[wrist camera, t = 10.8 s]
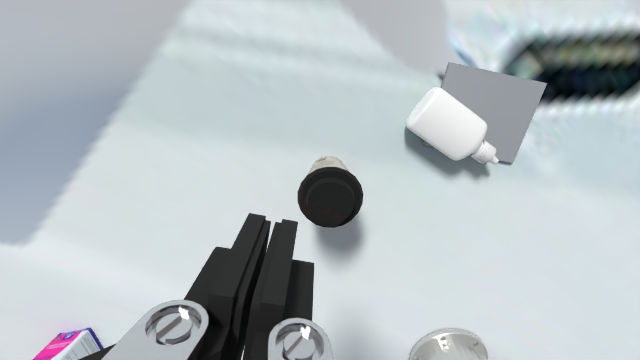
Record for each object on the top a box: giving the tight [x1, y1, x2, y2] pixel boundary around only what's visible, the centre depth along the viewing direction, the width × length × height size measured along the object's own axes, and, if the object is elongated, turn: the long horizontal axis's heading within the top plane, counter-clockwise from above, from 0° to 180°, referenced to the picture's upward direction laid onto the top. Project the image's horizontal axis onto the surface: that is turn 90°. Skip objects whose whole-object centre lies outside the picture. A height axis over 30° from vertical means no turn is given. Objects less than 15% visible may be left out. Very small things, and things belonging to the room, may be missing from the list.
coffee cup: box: [298, 156, 363, 228], centre depth 35 cm, size 7×7×10 cm
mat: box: [422, 62, 547, 163], centre depth 37 cm, size 12×10×1 cm
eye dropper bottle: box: [405, 87, 499, 164], centre depth 36 cm, size 4×6×12 cm
